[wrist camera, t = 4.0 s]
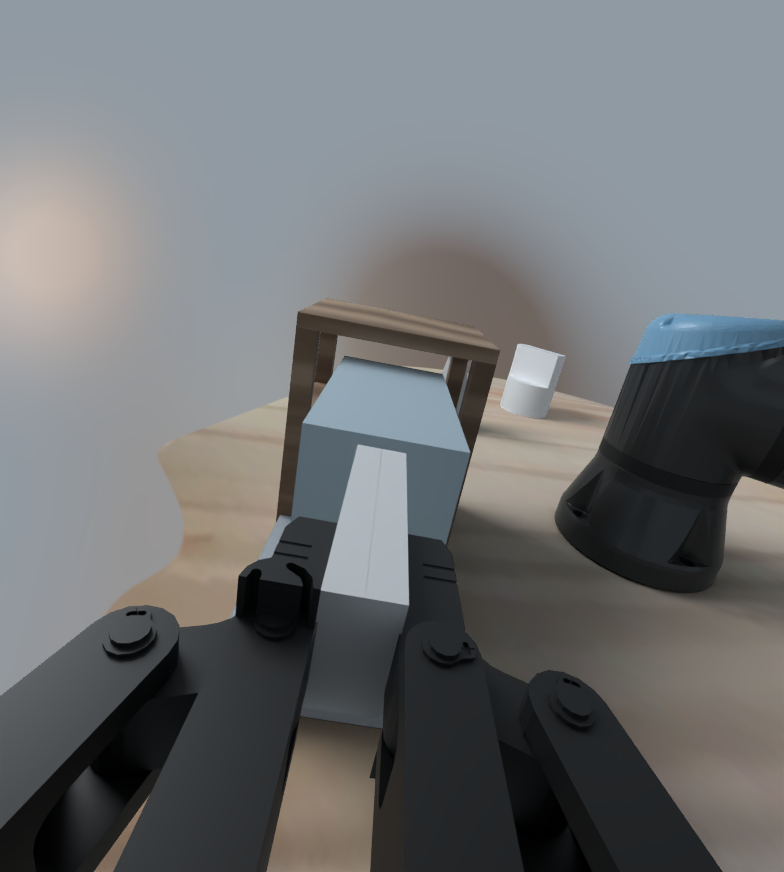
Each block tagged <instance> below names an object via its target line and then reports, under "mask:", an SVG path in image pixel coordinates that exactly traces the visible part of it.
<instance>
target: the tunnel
mask: <svg viewBox="0 0 784 872" xmlns="http://www.w3.org/2000/svg"><path fill="white" fill-rule="evenodd" d="M320 332H321V333H320ZM338 335H340V336H346V337H351V338H356V339H362V340H367V341H372V342H378V343H383V344H388V345H394V346H399V347H404V348H409V349H414V350H420V351H425V352H430V353H436V354H441V355H447V356H451V360H450V364H449V369H448V373H447V377H446V381H445V382H446V385H447V387H448V390H449V393H450V396H451V399H452V402H453V405H454V407H455V410H456V408H457V404H458V400H459V396H460V392H461V388H462V384H463V380H464V376H465V372H466V368H467V364H468V360H472V363H471V367H470V371H469V375H468V379H467V383H466V387H465V391H464V395H463V399H462V403H461V407H460V411H459V415H458V413H457V410H456V413H457V416H458V419H459V422H460V425H461V427H462V430H463V433H464V436H465V439H466V442H467V445H468V447H469V450H470V457H469V460H468V464H467V468H466V471H465V475H464V479H463V482H462V486H461V490H460V494H459V497H458V501H457V505H456V508H455V512H454V516H453V519H452V523H451V527H450V531H449V534H448V538H447V542H446V547H447V544H448V541H449V537H450V533H451V529H452V526H453V522H454V518H455V515H456V511H457V507H458V504H459V500H460V496H461V493H462V489H463V485H464V482H465V478H466V474H467V471H468V467H469V463H470V460H471V456H472V452H473V448H474V445H475V441H476V437H477V434H478V430H479V426H480V423H481V419H482V415H483V412H484V408H485V404H486V401H487V397H488V393H489V390H490V386H491V382H492V379H493V375H494V371H495V368H496V364H497V360H498V356H499V353H500V350H499V349H498V348H497V347H496V346H495V345H494V344H493V343H492V342H490V341H489V340H488V339H487V338H486V337H485V336H484V335H483V334H482V333H481V332H479V331H478V330H477V329H476V328H475V327H474V326H469V325H464V324H458V323H453V322H448V321H443V320H438V319H432V318H427V317H422V316H417V315H412V314H406V313H401V312H396V311H391V310H386V309H380V308H375V307H370V306H365V305H360V304H355V303H349V302H344V301H339V300H334V299H329V298H327V299H325V300H322V301H320V302H318V303H316V304H314V305H312V306H309V307H307V308H305V309H303V310H301V311H299V312H298V315H297V326H296V335H295V345H294V354H293V364H292V374H291V383H290V393H289V402H288V412H287V422H286V431H285V441H284V451H283V460H282V470H281V480H280V489H279V499H278V509H277V518H276V522H277V520H278V518H279V516H280V515H286V516H291V515H292V507H293V498H294V490H295V481H296V473H297V464H298V456H299V447H300V439H301V430H302V423H303V421H304V419H305V418H306V416H307V415H308V413H309V411H310V410H311V408H312V407H313V405H314V404H315V402H316V400H317V399H318V397H319V396H320V394H321V393H322V391H323V389H324V388H325V386H326V385H327V383H328V381H329V380H330V378H331V377H332V374H333V366H334V359H335V351H336V344H337V337H338ZM319 339H320V341H319ZM318 347H319V349H318ZM317 356H318V357H317ZM316 364H317V365H316ZM315 372H316V373H315ZM314 380H315V381H314Z"/></svg>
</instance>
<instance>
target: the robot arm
mask: <svg viewBox="0 0 784 872" xmlns="http://www.w3.org/2000/svg"><path fill="white" fill-rule="evenodd" d="M629 363H630V364H631V366H630V368H629V371H628V374H627V376H626V379H625V382H624V384H623V386H622V389H621V392H620V394H619V397H618V400H617V402H616V405H615V408H614V410H613V413H612V415H611V418H610V421H609V423H608V426H607V428H606V431H605V433H604V436H603V439H602V441H601V444H600V447H599V449H598V452H597V454H596V455H595V457H594V458H593V459H592V460H591V461H590V463H589V464H588V465H587V466H586V467H585V469H584V470H583V471H582V472H581V473H580V474H579V476H578V477H577V478H576V479H575V480H574V481H573V483H572V484H571V485H570V486H569V487H568V488H567V490H566V491H565V492H564V493H563V495H562V497H561V499H560V502H559V504H558V507H557V510H556V512H555V521H556V524H557V526H558V528H559V530H560V531H561V533H562V534H563V535H564V536H565V537H566V539H567V540H568V541H569V542H570V543H571V544H573V545H574V546H575V547H576V548H577V549H578V550H580V551H581V552H582V553H584V554H585V555H587V556H588V557H589V558H591V559H593V560H594V561H596V562H597V563H599V564H601V565H602V566H604V567H606V568H608V569H610V570H612V571H614V572H616V573H618V574H620V575H622V576H625V577H627V578H629V579H632V580H634V581H637V582H640V583H643V584H646V585H649V586H653V587H656V588H660V589H665V590H670V591H677V592H696V591H701V590H704V589H706V588H708V587H709V586H710V585H711V584H712V583H713V581H714V579H715V577H716V575H717V573H718V572H719V570H720V568H721V566H722V563H723V556H724V543H725V531H726V519H727V507H728V502H729V500H730V498H731V495H732V493H733V492H734V490H735V488H736V486H737V484H738V482H739V480H740V479H741V477H742V476H745V477H749V478H752V479H755V480H758V481H761V482H764V483H767V484H770V485H773V486H776V487H779V488H782V489H784V321H781V320H770V319H756V318H743V317H728V316H713V315H697V314H674V313H672V314H665V315H662V316H660V317H658V318H656V319H654V320H653V321H652V322H651V323H650V324H649V325H648V327H647V328H646V330H645V332H644V335H643V337H642V339H641V342H640V343H639V346H638V348H637V350H636V352H635V354H634V357H632V358H631V359H630V362H629ZM456 582H457V581H456V575H455V572H454V563H453V557H452V554H451V552H450V551H449V549H448V548H447V547H446V545H445V544H444V543H443V541H442V540H439V539H433V538H427V537H422V536H416V535H410V534H408V522H407V467H406V453H401V452H396V451H391V450H385V449H380V448H375V447H369V446H364V445H358V446H357V450H356V453H355V457H354V461H353V465H352V469H351V473H350V477H349V481H348V485H347V489H346V493H345V497H344V501H343V504H342V508H341V512H340V516H339V520H338V523H335V522H329V521H323V520H318V519H312V518H306V517H301V516H299V517H298V518H296V519H295V520H293V521H292V522H291V523H289V524H288V525H287V526H285V529H284V531H283V533H282V535H281V537H280V540H279V543H278V544H277V546H276V549H275V551H274V554H273V555H272V557H271V558H266V559H261V560H258V561H256V562H254V563H252V564H250V565H248V566H247V567H246V568H245V569H244V570H243V571H242V572H241V574H240V575H239V578H238V590H237V602H236V614H235V616H234V617H232V618H230V619H228V620H225V621H222V622H219V623H215V624H209V625H202V626H191V627H180V628H179V624H178V622H177V620H176V618H175V616H174V615H172V614H171V613H169V612H168V611H166V610H165V609H163V608H159V607H154V606H149V605H144V606H131V607H126V608H123V609H120V610H117V611H114V612H111V613H109V614H107V615H106V616H104V617H102V618H101V619H99V620H97V621H96V622H94V623H93V624H91V625H90V626H89V627H88V628H86V629H85V630H84V631H82V632H81V633H80V634H79V635H77V636H76V637H75V638H74V639H72V640H71V641H70V642H68V643H67V644H66V645H65V646H63V647H62V648H61V649H60V650H58V651H57V652H56V653H55V654H53V655H52V656H51V657H49V658H48V659H47V660H46V661H45V662H43V663H42V664H41V665H39V666H38V667H37V668H36V669H34V670H33V671H32V672H31V673H29V674H28V675H27V676H25V677H24V678H23V679H22V680H20V681H19V682H18V683H16V684H15V685H14V686H13V687H11V688H10V689H9V690H8V691H6V692H5V693H4V694H2V695H1V696H0V872H94V870H95V869H96V868H97V866H98V865H99V864H100V862H101V861H102V859H103V858H104V857H105V855H106V854H107V853H108V851H109V850H110V848H111V847H112V846H113V844H114V843H115V841H116V840H117V839H118V837H119V836H120V835H121V833H122V832H123V830H124V829H125V828H126V826H127V825H128V824H129V822H130V821H131V819H132V818H133V817H134V815H135V814H136V813H137V811H138V810H139V808H140V807H141V806H142V804H143V803H144V802H145V800H146V799H147V797H148V796H149V795H150V796H149V798H148V800H147V802H146V804H145V806H144V808H143V811H142V813H141V815H140V817H139V819H138V821H137V823H136V825H135V827H134V829H133V832H132V834H131V836H130V838H129V840H128V842H127V844H126V846H125V848H124V850H123V853H122V855H121V857H120V859H119V861H118V863H117V865H116V867H115V869H114V871H113V872H266V871H267V866H268V862H269V857H270V853H271V848H272V844H273V840H274V835H275V831H276V826H277V822H278V817H279V813H280V808H281V804H282V799H283V795H284V790H285V786H286V781H287V777H288V772H289V768H290V764H291V759H292V755H293V750H294V746H295V741H296V737H297V731H298V725H299V719H300V714H301V710H302V707H307V708H313V709H320V710H326V711H332V712H339V713H345V714H351V715H358V716H364V717H370V718H377V719H380V717H381V713H382V709H383V729H382V733H381V736H380V740H379V744H378V748H377V752H376V755H375V759H374V763H373V767H372V771H371V775H370V778H374V779H375V797H374V815H373V833H372V850H371V868H370V872H722V870H721V869H720V867H719V866H718V865H717V863H716V862H715V860H714V859H713V857H712V856H711V854H710V853H709V852H708V850H707V849H706V847H705V846H704V844H703V843H702V841H701V840H700V839H699V837H698V836H697V834H696V833H695V831H694V830H693V828H692V827H691V826H690V824H689V823H688V821H687V820H686V818H685V817H684V815H683V814H682V813H681V811H680V810H679V808H678V807H677V805H676V804H675V802H674V801H673V800H672V798H671V797H670V795H669V794H668V792H667V791H666V789H665V788H664V787H663V785H662V784H661V782H660V781H659V779H658V778H657V776H656V775H655V774H654V772H653V771H652V769H651V768H650V766H649V765H648V763H647V762H646V761H645V759H644V758H643V756H642V755H641V753H640V752H639V750H638V749H637V748H636V746H635V745H634V743H633V742H632V740H631V739H630V737H629V736H628V735H627V733H626V732H625V730H624V729H623V727H622V726H621V724H620V723H619V722H618V720H617V719H616V717H615V716H614V714H613V713H612V711H611V710H610V709H609V707H608V706H607V704H606V703H605V702H604V701H603V700H602V698H601V697H600V696H599V695H598V694H597V693H596V692H595V691H594V690H593V689H592V688H591V687H589V686H588V685H587V684H585V683H584V682H582V681H581V680H580V679H578V678H576V677H573V676H571V675H569V674H566V673H564V672H558V671H551V670H548V671H544V672H541V673H537V674H536V675H535V677H534V678H533V679H532V680H531V681H530V683H529V684H528V683H525V682H523V681H521V680H519V679H517V678H514V677H512V676H510V675H508V674H505V673H503V672H501V671H499V670H498V669H496V668H494V667H492V666H491V665H489V664H488V663H487V662H485V661H484V660H483V659H482V657H481V654H480V652H479V650H478V647H477V645H476V643H475V642H474V641H473V640H472V639H471V638H470V637H469V636H468V634H467V633H465V627H464V622H463V616H462V610H461V604H460V598H459V592H458V587H457V584H456ZM383 705H384V708H383ZM150 793H151V794H150Z"/></svg>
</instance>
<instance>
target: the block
mask: <svg viewBox="0 0 784 872" xmlns="http://www.w3.org/2000/svg"><path fill="white" fill-rule="evenodd" d="M358 445H364V446H369V447H375V448H380V449H385V450H391V451H396V452H401V453H406V467H407V522H408V534H410V535H416V536H422V537H427V538H433V539H439V540H442V541H443V543H444V544H445V545H446V542H447V538H448V534H449V531H450V527H451V523H452V519H453V516H454V512H455V508H456V505H457V501H458V497H459V494H460V490H461V486H462V482H463V479H464V475H465V471H466V468H467V464H468V460H469V457H470V450H469V447H468V445H467V442H466V439H465V436H464V433H463V430H462V427H461V425H460V422H459V419H458V416H457V413H456V410H455V407H454V405H453V402H452V399H451V396H450V393H449V390H448V387H447V385H446V382H445V379H444V376H443V374H439V373H434V372H428V371H423V370H418V369H412V368H407V367H402V366H396V365H391V364H385V363H380V362H375V361H370V360H364V359H359V358H354V357H348V356H344V358H343V359H342V361H341V363H340V364H339V366H338V367H337V369H336V371H335V372H334V374H333V375H332V377H331V378H330V380H329V381H328V383H327V385H326V386H325V388H324V389H323V391H322V393H321V394H320V396H319V397H318V399H317V400H316V402H315V404H314V405H313V407H312V408H311V410H310V411H309V413H308V415H307V416H306V418H305V419H304V421H303V423H302V430H301V439H300V447H299V456H298V464H297V473H296V481H295V490H294V498H293V507H292V515H291V522H292V521H293V520H295V519H296V518H298V517H299V516H301V517H306V518H312V519H318V520H323V521H329V522H335V523H338V520H339V516H340V512H341V508H342V504H343V501H344V497H345V493H346V489H347V485H348V481H349V477H350V473H351V469H352V465H353V461H354V457H355V453H356V450H357V446H358Z"/></svg>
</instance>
